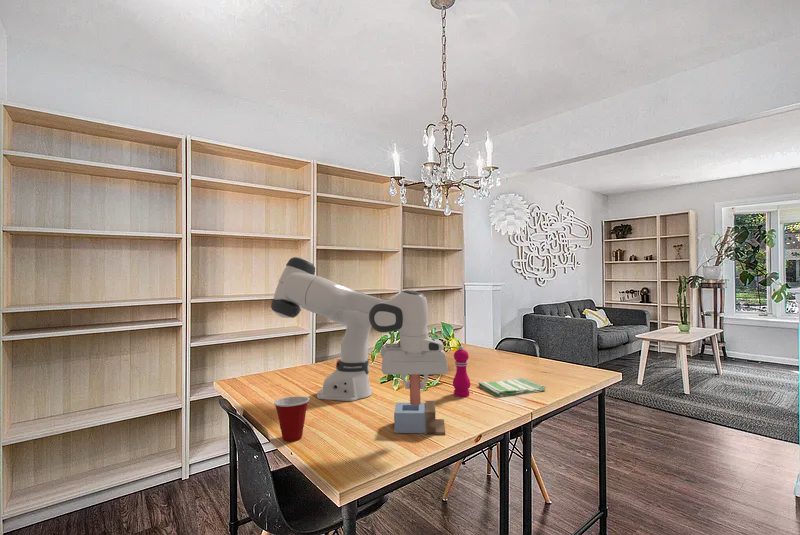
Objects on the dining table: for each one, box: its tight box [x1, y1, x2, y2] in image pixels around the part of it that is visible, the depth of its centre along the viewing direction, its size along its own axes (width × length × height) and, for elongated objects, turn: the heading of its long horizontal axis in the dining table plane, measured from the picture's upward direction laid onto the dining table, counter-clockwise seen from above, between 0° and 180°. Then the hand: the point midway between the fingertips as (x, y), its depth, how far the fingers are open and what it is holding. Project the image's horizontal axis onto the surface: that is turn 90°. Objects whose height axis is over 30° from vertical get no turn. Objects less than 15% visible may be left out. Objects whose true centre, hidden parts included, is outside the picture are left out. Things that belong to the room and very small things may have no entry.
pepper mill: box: [452, 345, 472, 398], centre depth 170 cm, size 7×7×20 cm
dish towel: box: [477, 377, 547, 398], centre depth 177 cm, size 18×23×3 cm
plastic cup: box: [273, 395, 310, 443], centre depth 129 cm, size 11×11×12 cm
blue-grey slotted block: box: [393, 402, 426, 434], centre depth 136 cm, size 10×10×6 cm
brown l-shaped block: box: [425, 400, 446, 436], centre depth 135 cm, size 6×11×7 cm, turn 176°
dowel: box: [409, 374, 422, 405], centre depth 128 cm, size 3×3×10 cm
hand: (415, 388), depth 128 cm, fingers closed on dowel, 3 cm apart
